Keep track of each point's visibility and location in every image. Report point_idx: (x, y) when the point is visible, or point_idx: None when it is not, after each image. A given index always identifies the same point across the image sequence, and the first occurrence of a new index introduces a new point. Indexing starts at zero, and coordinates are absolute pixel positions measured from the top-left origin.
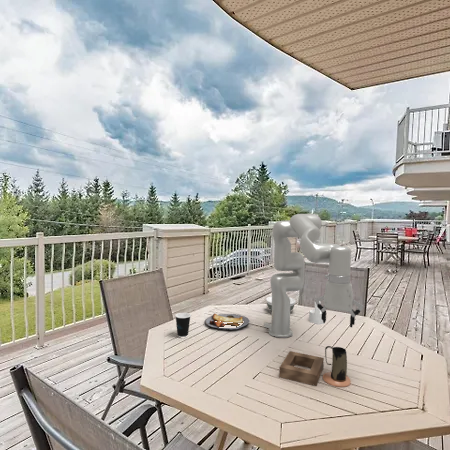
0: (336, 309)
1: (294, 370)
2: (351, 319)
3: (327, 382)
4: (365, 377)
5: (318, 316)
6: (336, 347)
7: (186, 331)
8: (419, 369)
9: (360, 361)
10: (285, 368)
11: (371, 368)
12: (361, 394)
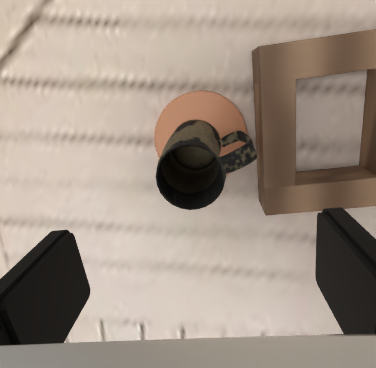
0: (167, 347)
1: (361, 31)
2: (8, 280)
3: (222, 96)
4: (127, 205)
5: None
6: (209, 202)
7: None
8: None
9: (164, 293)
10: None
11: (127, 267)
12: (109, 91)
